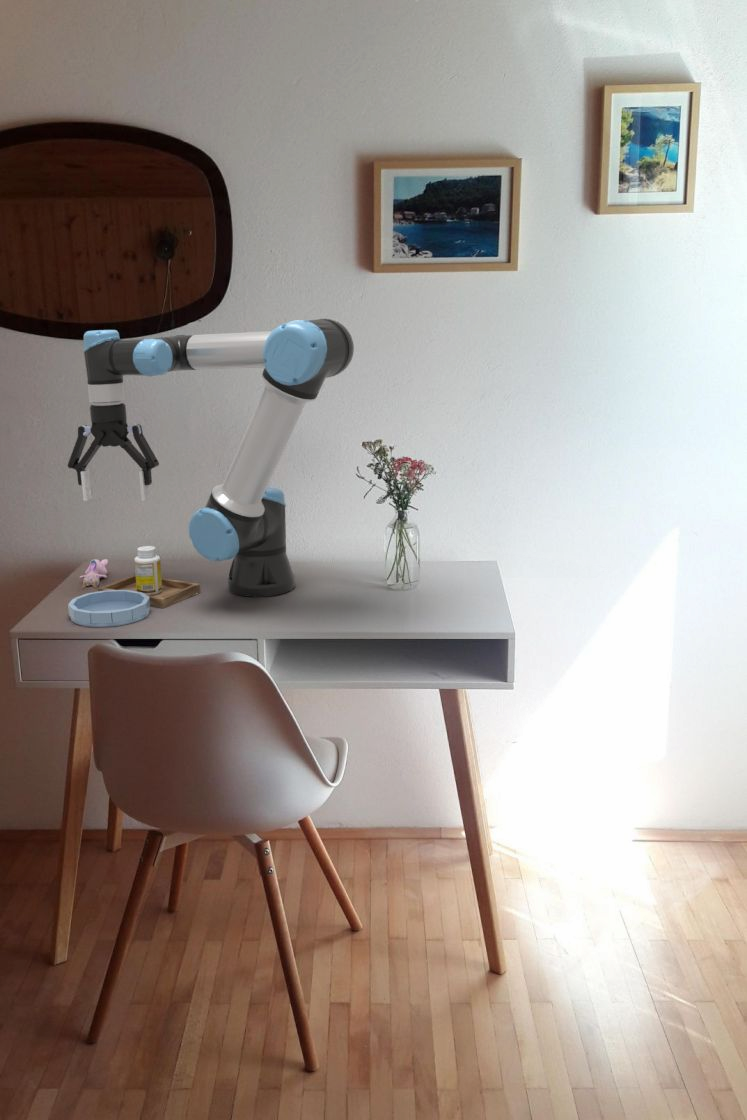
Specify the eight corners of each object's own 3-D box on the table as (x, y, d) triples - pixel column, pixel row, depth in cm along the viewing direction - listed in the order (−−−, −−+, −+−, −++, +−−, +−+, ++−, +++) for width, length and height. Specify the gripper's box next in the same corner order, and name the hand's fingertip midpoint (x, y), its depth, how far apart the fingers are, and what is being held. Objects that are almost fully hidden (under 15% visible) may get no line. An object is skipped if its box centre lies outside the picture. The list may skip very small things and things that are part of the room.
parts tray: (200, 592, 238) (199, 583, 237) (162, 608, 227) (162, 599, 226) (137, 582, 246) (136, 573, 245) (98, 597, 235) (97, 588, 234)
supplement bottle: (153, 587, 240) (150, 543, 237) (167, 592, 236) (164, 548, 233) (131, 592, 236) (128, 548, 234) (145, 597, 232) (142, 552, 230)
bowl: (165, 609, 226) (164, 596, 225) (113, 631, 212) (112, 617, 211) (107, 599, 233) (106, 586, 232) (53, 620, 220) (52, 606, 219)
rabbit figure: (104, 594, 242) (115, 566, 256) (101, 570, 239) (113, 543, 253) (76, 595, 242) (89, 567, 255) (73, 571, 239) (86, 544, 253)
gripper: (168, 400, 232) (176, 496, 237) (61, 402, 236) (71, 496, 241) (155, 404, 224) (163, 503, 230) (45, 405, 229) (56, 502, 234)
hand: (116, 499), depth 236 cm, fingers open, 13 cm apart
